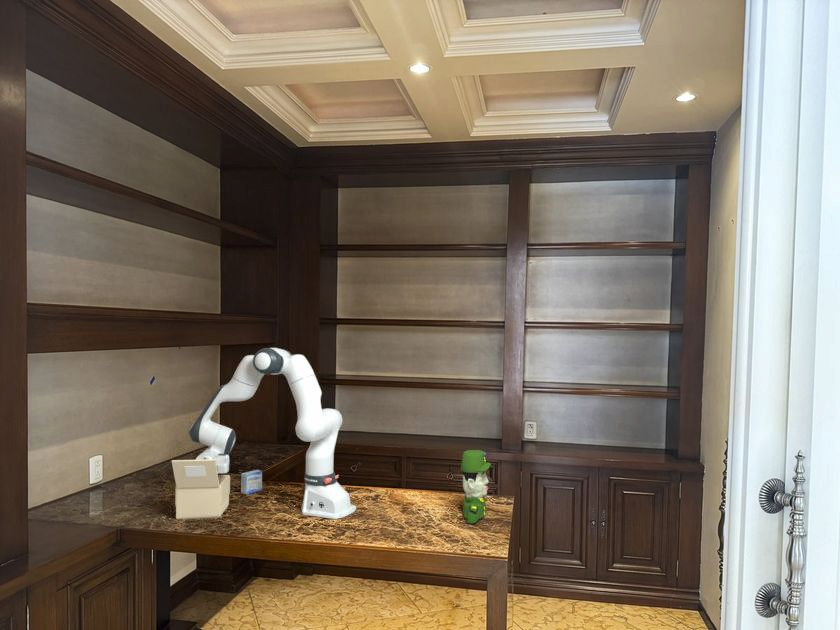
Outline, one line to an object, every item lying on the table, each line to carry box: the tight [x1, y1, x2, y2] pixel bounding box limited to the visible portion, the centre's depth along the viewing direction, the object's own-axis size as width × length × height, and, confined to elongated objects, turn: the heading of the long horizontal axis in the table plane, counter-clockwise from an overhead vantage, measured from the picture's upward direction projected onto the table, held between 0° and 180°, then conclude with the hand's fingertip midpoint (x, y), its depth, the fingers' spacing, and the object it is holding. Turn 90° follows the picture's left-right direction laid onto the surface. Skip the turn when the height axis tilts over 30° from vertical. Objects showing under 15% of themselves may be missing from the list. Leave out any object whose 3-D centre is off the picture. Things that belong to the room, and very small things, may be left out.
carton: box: [174, 474, 231, 520], centre depth 207 cm, size 14×17×12 cm
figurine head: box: [460, 449, 492, 524], centre depth 205 cm, size 22×12×25 cm, turn 167°
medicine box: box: [240, 469, 263, 495], centre depth 231 cm, size 8×4×9 cm, turn 143°
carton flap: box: [171, 459, 219, 488], centre depth 196 cm, size 13×15×1 cm
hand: (195, 473), depth 197 cm, fingers closed, pressing on carton flap
